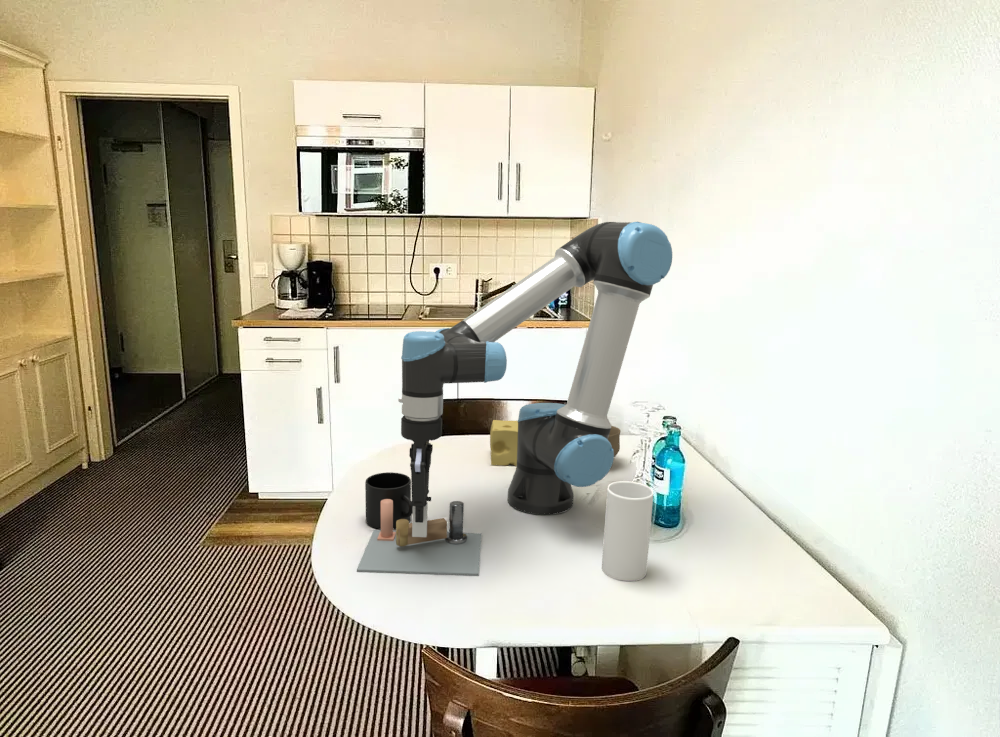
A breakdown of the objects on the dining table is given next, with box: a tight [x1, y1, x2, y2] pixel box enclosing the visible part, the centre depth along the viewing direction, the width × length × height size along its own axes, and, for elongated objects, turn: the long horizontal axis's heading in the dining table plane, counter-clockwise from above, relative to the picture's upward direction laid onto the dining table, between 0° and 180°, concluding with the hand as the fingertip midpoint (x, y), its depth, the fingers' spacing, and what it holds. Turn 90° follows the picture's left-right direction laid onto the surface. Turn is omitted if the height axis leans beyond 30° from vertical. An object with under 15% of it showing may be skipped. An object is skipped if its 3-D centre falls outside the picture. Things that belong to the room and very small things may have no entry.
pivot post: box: [445, 500, 467, 545], centre depth 132 cm, size 4×4×8 cm
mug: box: [364, 471, 413, 530], centre depth 139 cm, size 9×12×9 cm
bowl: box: [608, 425, 622, 458], centre depth 178 cm, size 13×13×10 cm
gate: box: [395, 517, 448, 546], centre depth 129 cm, size 10×2×4 cm, turn 114°
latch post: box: [377, 499, 396, 541], centre depth 132 cm, size 3×3×8 cm
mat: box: [356, 529, 482, 577], centre depth 128 cm, size 22×16×1 cm
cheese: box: [489, 419, 518, 467], centre depth 179 cm, size 10×11×10 cm
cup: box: [601, 480, 654, 582], centre depth 122 cm, size 8×8×16 cm
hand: (419, 535), depth 127 cm, fingers closed
